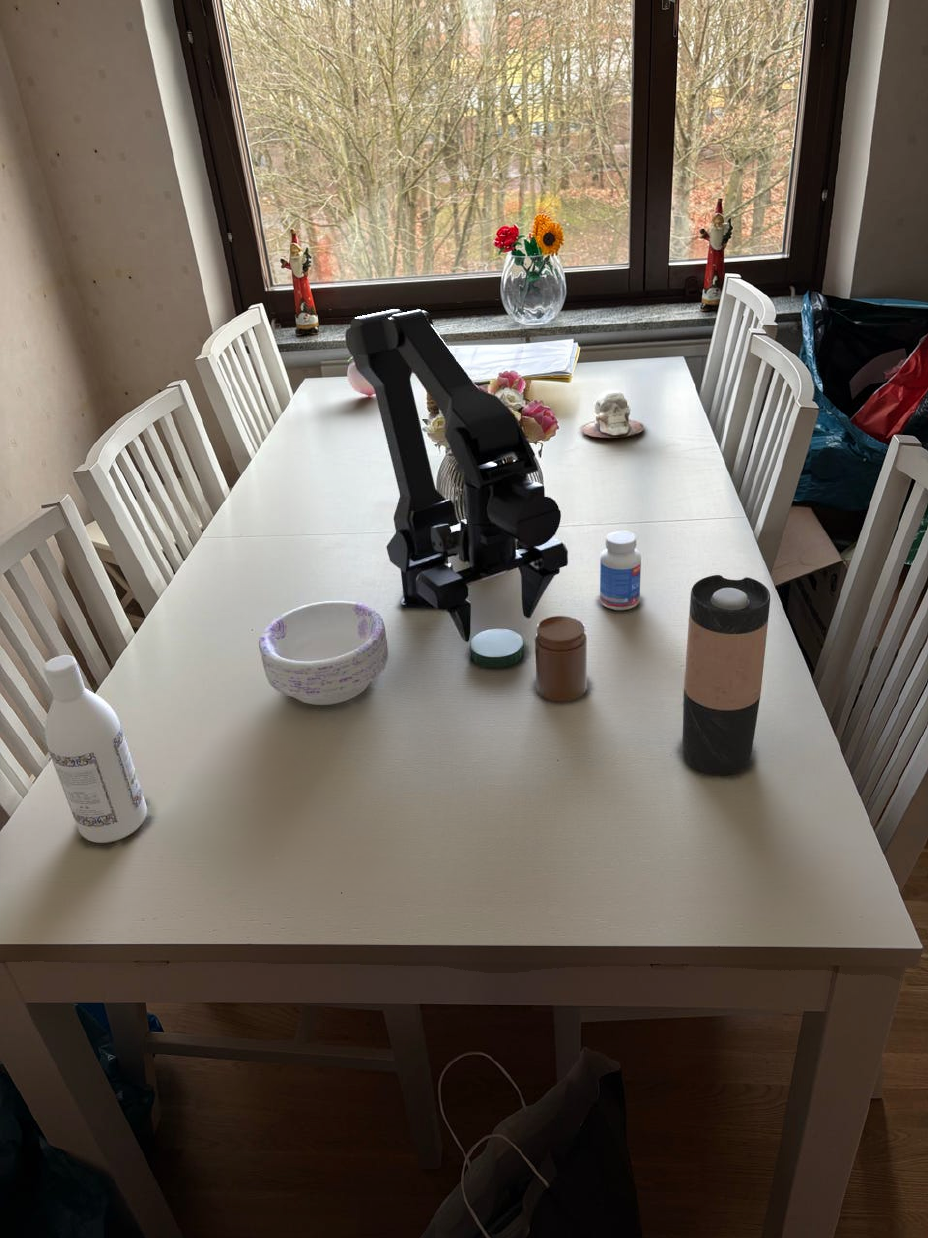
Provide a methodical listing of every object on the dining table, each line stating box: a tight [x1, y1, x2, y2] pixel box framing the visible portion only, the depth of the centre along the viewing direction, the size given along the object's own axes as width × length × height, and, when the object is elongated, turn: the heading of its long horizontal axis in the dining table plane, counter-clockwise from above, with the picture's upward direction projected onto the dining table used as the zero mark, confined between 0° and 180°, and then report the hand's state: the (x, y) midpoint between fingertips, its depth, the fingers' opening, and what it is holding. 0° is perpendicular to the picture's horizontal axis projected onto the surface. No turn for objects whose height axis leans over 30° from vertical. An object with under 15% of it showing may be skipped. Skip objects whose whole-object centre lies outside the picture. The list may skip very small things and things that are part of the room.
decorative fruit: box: [346, 356, 376, 397], centre depth 213 cm, size 9×8×10 cm
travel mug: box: [682, 574, 771, 776], centre depth 97 cm, size 8×8×20 cm
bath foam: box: [43, 654, 148, 844], centre depth 95 cm, size 7×7×20 cm
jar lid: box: [469, 628, 525, 669], centre depth 122 cm, size 7×7×2 cm
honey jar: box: [534, 615, 588, 703], centre depth 113 cm, size 6×6×8 cm
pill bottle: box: [599, 530, 642, 611], centre depth 129 cm, size 6×5×10 cm
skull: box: [581, 389, 645, 439], centre depth 186 cm, size 12×10×10 cm
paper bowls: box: [258, 600, 389, 706], centre depth 117 cm, size 15×15×8 cm
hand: (496, 628), depth 120 cm, fingers open, 9 cm apart
